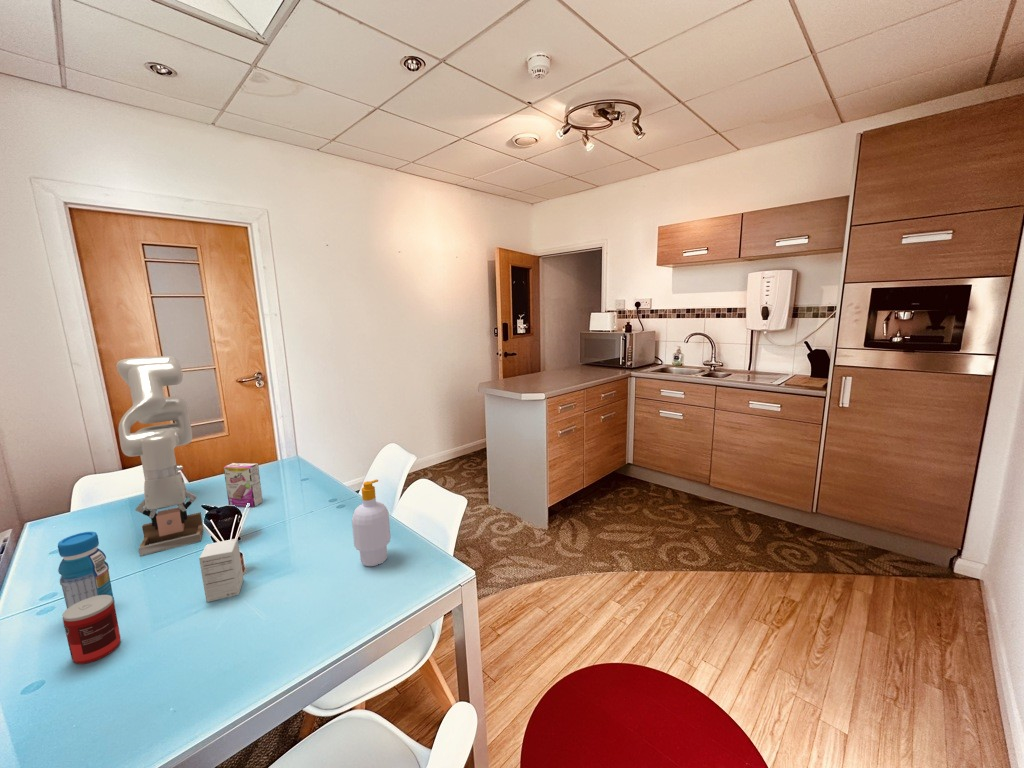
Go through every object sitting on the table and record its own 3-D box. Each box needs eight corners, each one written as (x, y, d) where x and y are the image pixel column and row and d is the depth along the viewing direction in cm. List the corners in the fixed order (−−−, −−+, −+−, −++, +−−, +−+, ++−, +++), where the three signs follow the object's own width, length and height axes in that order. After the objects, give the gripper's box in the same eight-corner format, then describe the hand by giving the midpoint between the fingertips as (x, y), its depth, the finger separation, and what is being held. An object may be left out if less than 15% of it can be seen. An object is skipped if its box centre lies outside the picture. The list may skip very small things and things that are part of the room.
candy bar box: (228, 507, 161) (222, 467, 159) (237, 501, 166) (232, 462, 163) (254, 507, 160) (249, 467, 157) (263, 502, 165) (258, 462, 162)
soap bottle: (398, 558, 123) (393, 482, 119) (366, 574, 116) (359, 493, 112) (381, 546, 130) (375, 473, 126) (349, 560, 123) (342, 483, 119)
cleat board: (146, 543, 136) (143, 524, 135) (203, 529, 144) (200, 512, 143) (139, 556, 128) (136, 536, 127) (200, 541, 136) (197, 523, 135)
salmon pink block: (161, 531, 136) (158, 511, 135) (184, 525, 139) (181, 506, 138) (159, 537, 132) (155, 517, 131) (182, 532, 136) (179, 512, 134)
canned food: (93, 639, 95) (84, 595, 93) (131, 636, 95) (122, 592, 93) (60, 666, 87) (50, 620, 85) (101, 663, 88) (91, 616, 86)
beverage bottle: (73, 629, 98) (56, 551, 95) (63, 616, 102) (47, 541, 99) (120, 607, 105) (106, 534, 102) (109, 596, 109) (95, 526, 106)
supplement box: (212, 586, 112) (206, 543, 110) (244, 579, 115) (238, 537, 113) (205, 603, 106) (197, 557, 104) (239, 595, 109) (232, 550, 107)
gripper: (196, 463, 140) (204, 513, 143) (129, 474, 131) (138, 527, 134) (194, 470, 134) (202, 522, 137) (123, 482, 125) (133, 537, 128)
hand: (170, 524), depth 135 cm, fingers closed on salmon pink block, 6 cm apart
